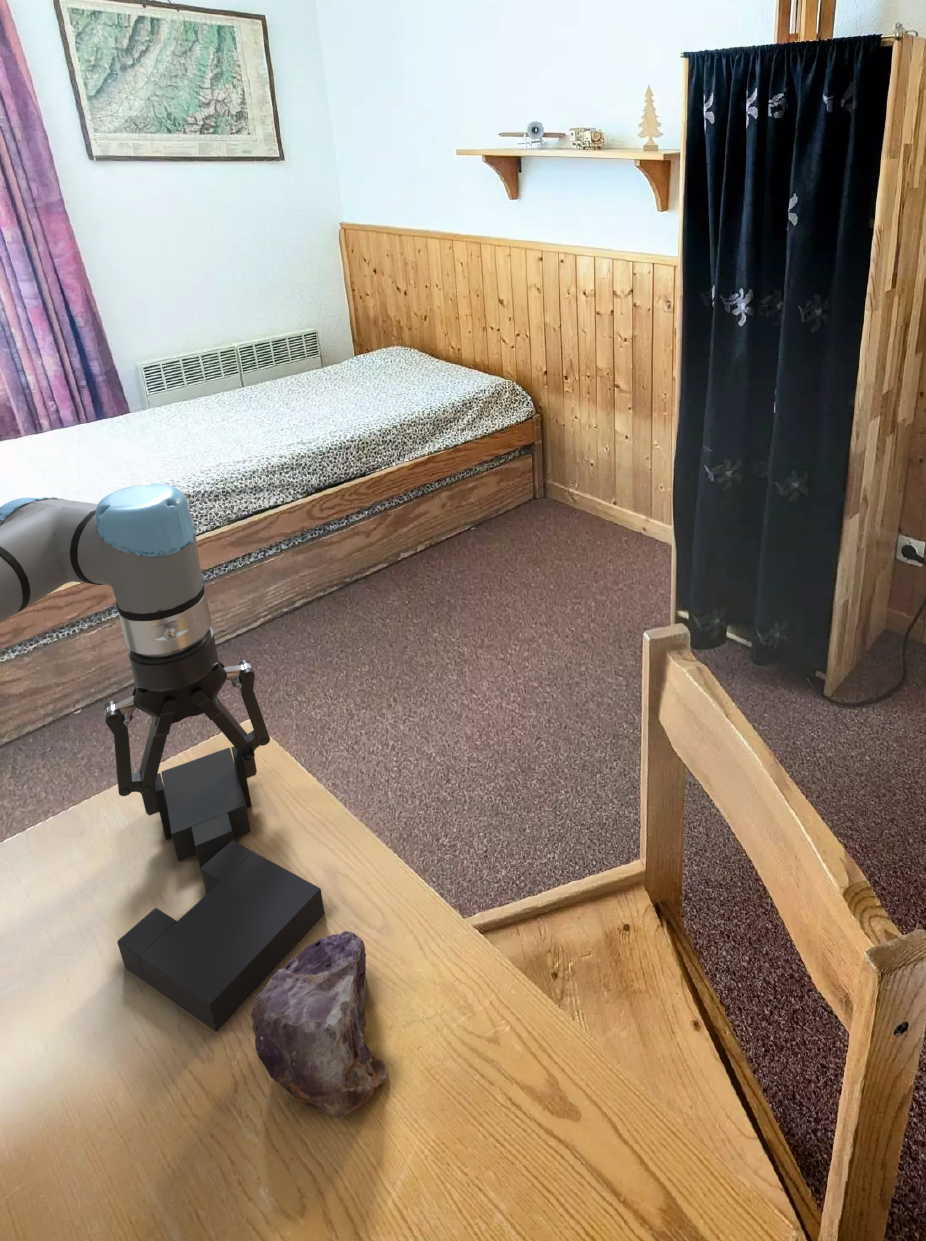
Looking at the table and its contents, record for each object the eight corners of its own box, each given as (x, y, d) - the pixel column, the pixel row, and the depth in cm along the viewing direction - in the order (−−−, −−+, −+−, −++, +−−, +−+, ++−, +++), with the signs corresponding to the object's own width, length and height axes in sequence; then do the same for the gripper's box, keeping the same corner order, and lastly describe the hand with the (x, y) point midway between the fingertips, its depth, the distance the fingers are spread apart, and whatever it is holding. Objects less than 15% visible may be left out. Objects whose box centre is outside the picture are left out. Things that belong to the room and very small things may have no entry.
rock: (386, 989, 71) (266, 1019, 68) (380, 906, 69) (255, 934, 66) (389, 1120, 60) (245, 1163, 57) (381, 1026, 58) (232, 1065, 55)
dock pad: (126, 973, 71) (116, 941, 70) (238, 869, 81) (232, 840, 80) (217, 1038, 66) (209, 1005, 64) (325, 919, 76) (320, 888, 74)
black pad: (167, 799, 89) (161, 771, 87) (235, 774, 92) (229, 747, 91) (181, 884, 79) (174, 854, 77) (256, 852, 82) (251, 823, 81)
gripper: (50, 693, 71) (103, 883, 79) (284, 624, 81) (310, 799, 89) (50, 649, 76) (100, 830, 84) (268, 591, 87) (294, 757, 95)
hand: (208, 814), depth 87 cm, fingers closed on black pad, 7 cm apart
